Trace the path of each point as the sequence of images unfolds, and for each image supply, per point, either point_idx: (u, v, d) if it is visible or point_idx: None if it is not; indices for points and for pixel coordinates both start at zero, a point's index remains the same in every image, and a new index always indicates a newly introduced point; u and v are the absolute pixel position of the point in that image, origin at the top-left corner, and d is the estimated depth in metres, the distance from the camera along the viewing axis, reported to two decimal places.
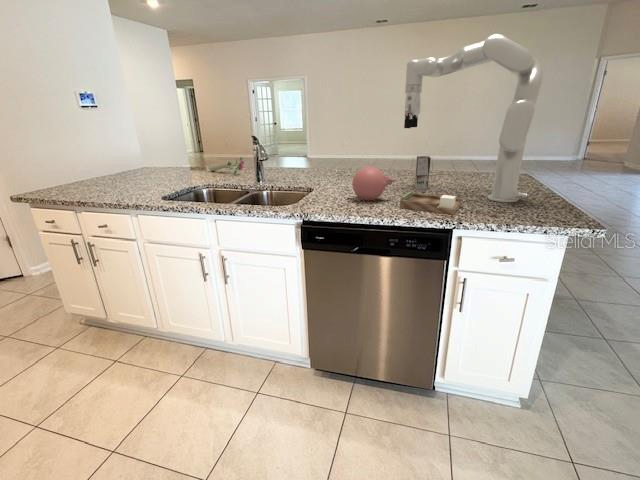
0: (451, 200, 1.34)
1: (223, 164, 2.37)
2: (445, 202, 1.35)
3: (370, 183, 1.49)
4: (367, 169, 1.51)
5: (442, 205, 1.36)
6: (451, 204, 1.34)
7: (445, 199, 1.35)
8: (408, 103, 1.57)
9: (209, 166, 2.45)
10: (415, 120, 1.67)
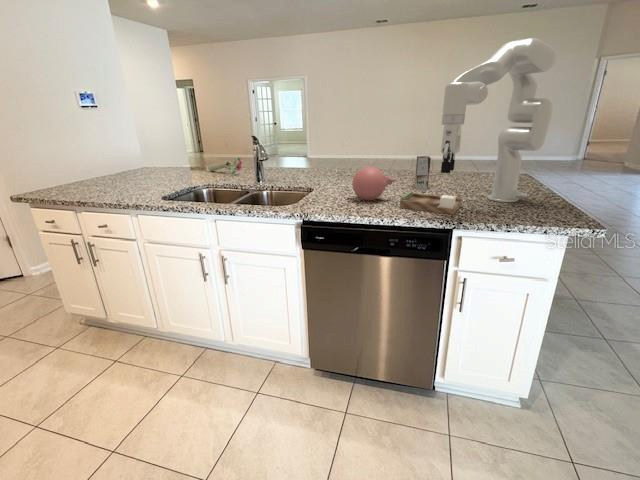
0: (451, 200, 1.34)
1: (222, 164, 2.37)
2: (445, 202, 1.35)
3: (370, 183, 1.49)
4: (367, 169, 1.51)
5: (442, 205, 1.36)
6: (451, 204, 1.34)
7: (445, 199, 1.35)
8: (446, 139, 1.18)
9: None
10: (451, 162, 1.27)
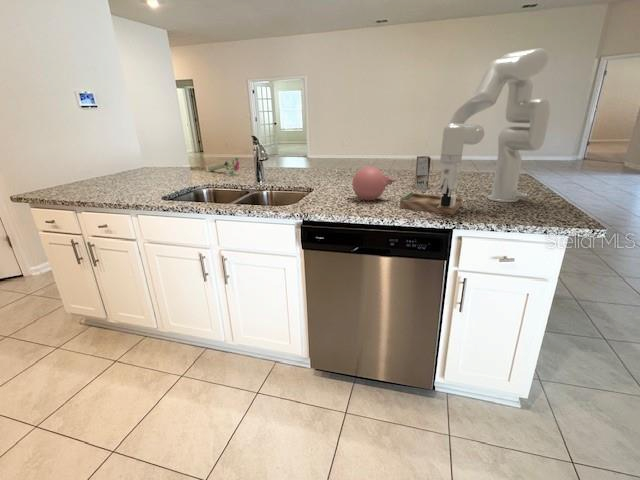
0: (451, 199, 1.35)
1: (220, 164, 2.37)
2: None
3: (370, 183, 1.49)
4: (367, 169, 1.51)
5: None
6: (451, 203, 1.35)
7: None
8: (444, 177, 1.27)
9: (208, 166, 2.45)
10: None
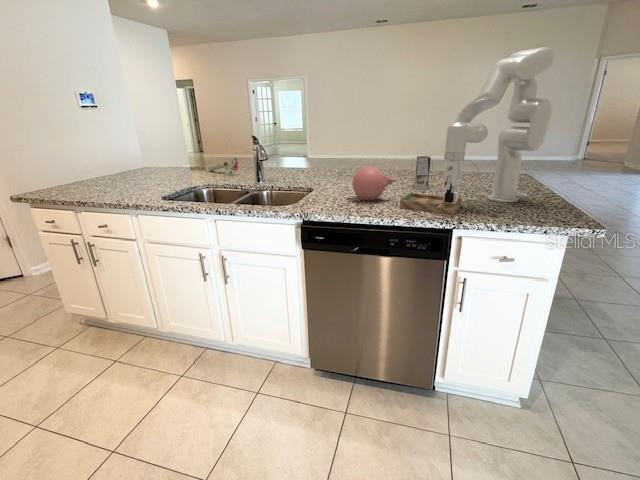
0: (454, 196, 1.40)
1: (220, 164, 2.37)
2: None
3: (370, 183, 1.49)
4: (367, 169, 1.51)
5: None
6: (454, 199, 1.40)
7: None
8: (448, 174, 1.32)
9: (208, 166, 2.46)
10: None
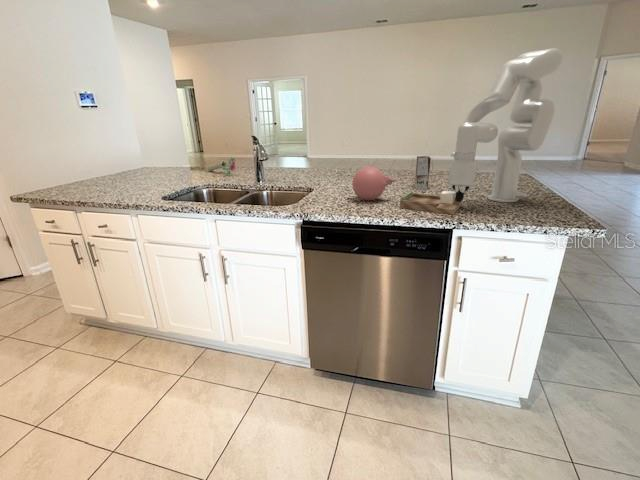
0: (451, 196, 1.40)
1: (218, 164, 2.37)
2: (445, 198, 1.42)
3: (370, 183, 1.49)
4: (367, 169, 1.51)
5: (442, 200, 1.43)
6: (451, 199, 1.41)
7: (445, 195, 1.42)
8: None
9: (207, 166, 2.46)
10: (459, 194, 1.40)
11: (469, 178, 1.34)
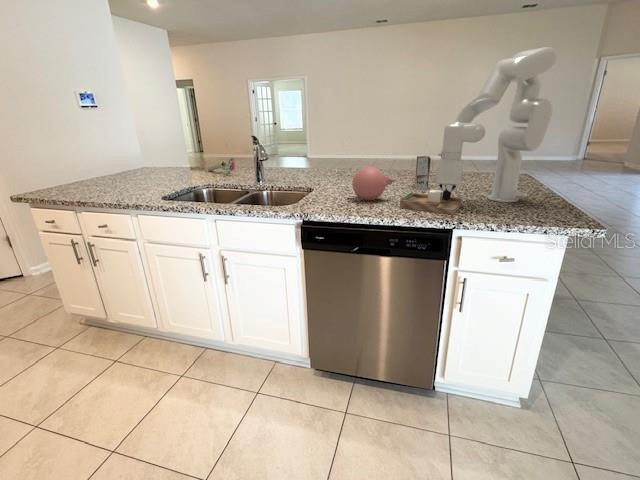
0: (438, 194, 1.43)
1: (218, 164, 2.37)
2: (433, 196, 1.45)
3: (370, 183, 1.49)
4: (367, 169, 1.51)
5: (430, 199, 1.45)
6: (438, 198, 1.44)
7: (433, 193, 1.44)
8: None
9: (207, 166, 2.46)
10: None
11: (455, 177, 1.36)
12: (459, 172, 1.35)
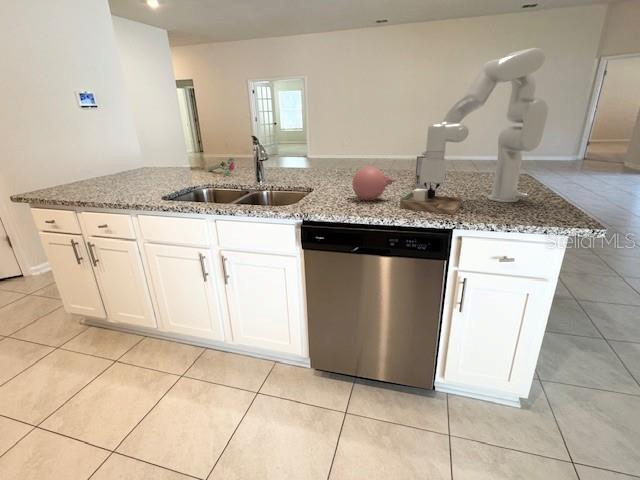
0: (423, 193, 1.46)
1: (217, 164, 2.37)
2: (418, 195, 1.48)
3: (370, 183, 1.49)
4: (367, 169, 1.51)
5: (415, 198, 1.49)
6: (423, 197, 1.47)
7: (418, 192, 1.47)
8: None
9: None
10: None
11: (439, 176, 1.40)
12: (442, 171, 1.39)
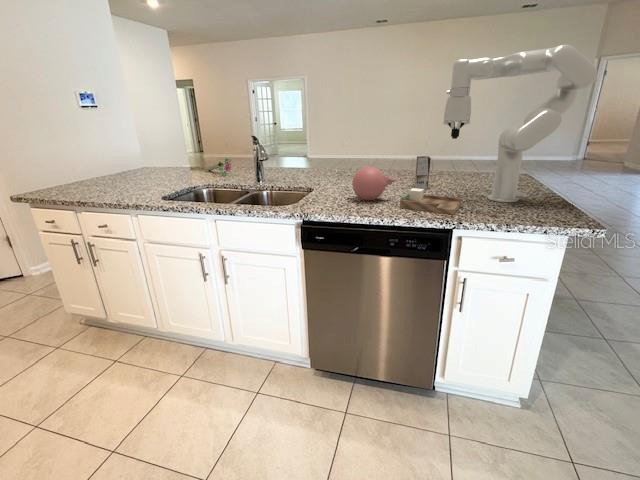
0: (419, 192, 1.47)
1: (215, 164, 2.37)
2: (413, 194, 1.49)
3: (370, 183, 1.49)
4: (367, 169, 1.51)
5: (411, 197, 1.50)
6: (419, 196, 1.48)
7: (413, 192, 1.48)
8: None
9: None
10: None
11: (464, 113, 1.40)
12: (467, 108, 1.39)
